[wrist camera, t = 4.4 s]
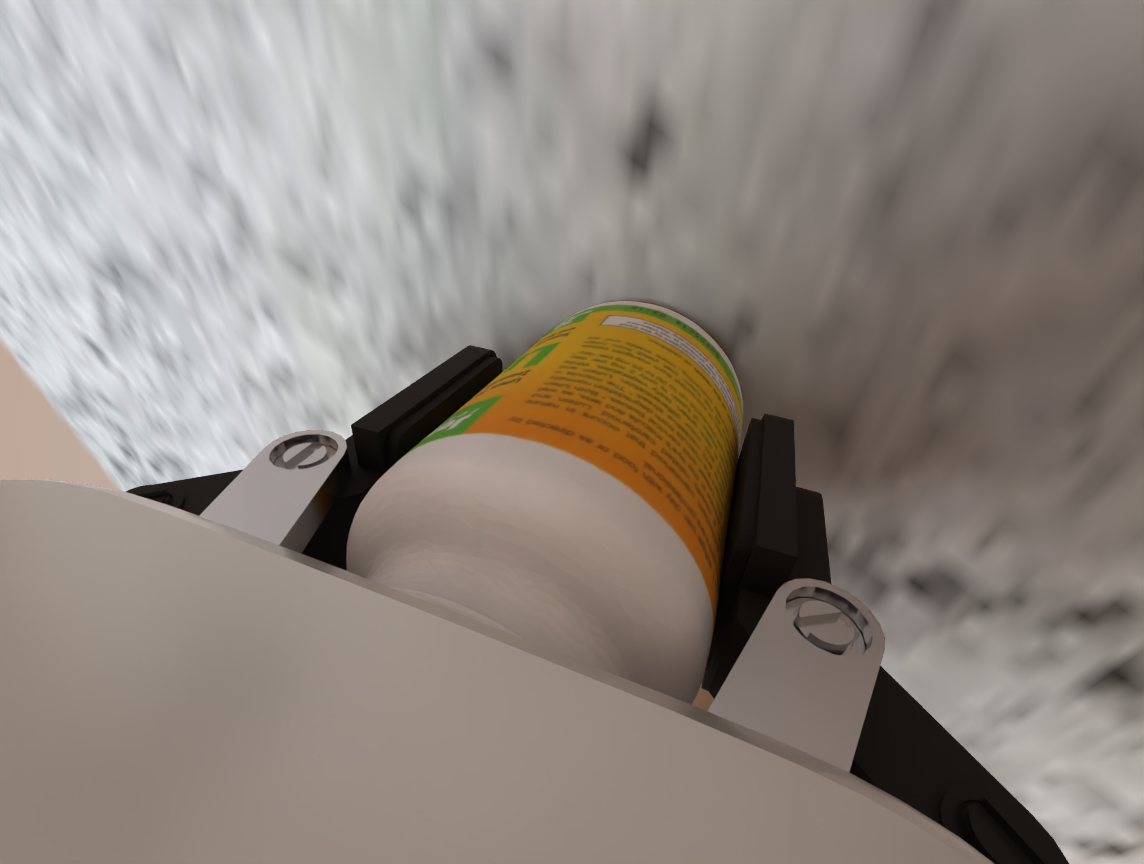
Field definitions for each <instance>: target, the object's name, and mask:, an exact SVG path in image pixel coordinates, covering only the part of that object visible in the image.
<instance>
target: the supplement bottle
mask: <svg viewBox="0 0 1144 864" xmlns="http://www.w3.org/2000/svg"><path fill="white" fill-rule="evenodd" d="M742 425H743V399H742V393H741V388H740V384H739V381H738V378H737V376H736V373H735V371H734V368H733V366H732V364H731V363H730V361H729V359H728V357H727V356H726V354H725V353H724V352H723V350H722V349H721V348H720V347H719V345H718V344H717V343H716V342H715V341H714V340H713V339H712V338H711V337H710V336H709V335H708V334H707V333H706V332H705V331H704V330H703V329H701V328H700V327H699V326H698V325H696V324H695V323H694V322H692V321H691V320H689V319H687V318H685V317H684V316H682V315H680V314H678V313H676V312H674V311H672V310H669V309H667V308H664V307H661V306H657V305H653V304H649V303H643V302H636V301H614V302H606V303H601V304H597V305H593V306H590V307H587V308H585V309H583V310H580V311H578V312H576V313H574V314H573V315H571V316H569V317H568V318H566V319H565V320H563V321H562V322H561V323H559V324H558V325H556V326H555V327H554V328H553V329H551V330H550V331H549V332H548V333H547V334H546V335H545V336H543V337H542V338H541V339H540V340H539V341H538V342H536V343H535V344H534V345H533V346H532V347H531V348H530V349H528V350H527V351H526V352H525V353H524V354H523V355H521V356H520V357H519V358H518V359H517V360H516V361H515V362H513V363H512V364H511V365H510V366H509V367H508V368H507V369H506V370H504V371H503V372H502V373H501V374H500V375H499V376H497V377H496V378H495V379H494V380H493V381H492V382H491V383H489V384H488V385H487V386H486V387H485V388H483V389H482V390H481V391H480V392H479V393H478V394H476V395H475V396H474V397H473V398H472V399H471V400H469V401H468V402H467V403H466V404H465V405H464V406H462V407H461V408H460V409H459V410H458V411H457V412H455V413H454V414H453V415H452V416H451V417H450V418H448V419H447V420H446V421H445V422H444V423H442V424H441V425H440V426H439V427H438V428H437V429H435V430H434V431H433V432H432V433H430V434H429V435H428V436H427V437H426V438H424V439H423V440H422V441H421V442H420V443H419V444H417V445H416V446H415V447H413V448H412V449H411V450H410V451H409V452H408V453H406V454H405V455H404V456H403V457H402V458H401V459H400V460H398V461H397V462H396V463H395V464H394V465H393V466H392V467H391V468H390V469H389V470H388V471H387V472H386V473H385V474H384V475H383V476H382V477H381V478H380V479H379V480H378V481H377V482H376V483H375V484H374V485H373V487H372V488H371V489H370V491H369V492H368V493H367V495H366V496H365V498H364V499H363V501H362V502H361V504H360V506H359V508H358V510H357V512H356V514H355V516H354V519H353V522H352V525H351V528H350V531H349V536H348V542H347V554H346V565H347V571H348V572H351V573H354V574H356V575H359V576H361V577H364V578H367V579H369V580H372V581H375V582H377V583H380V584H382V585H385V586H388V587H390V588H393V589H395V590H398V591H401V592H403V593H406V594H408V595H411V596H414V597H416V598H419V599H421V600H424V601H427V602H429V603H432V604H434V605H437V606H440V607H442V608H445V609H447V610H450V611H453V612H455V613H458V614H460V615H463V616H466V617H468V618H471V619H473V620H476V621H479V622H481V623H484V624H486V625H489V626H492V627H494V628H497V629H499V630H502V631H505V632H507V633H510V634H512V635H515V636H517V637H520V638H522V639H525V640H528V641H530V642H533V643H535V644H538V645H540V646H543V647H546V648H548V649H551V650H553V651H556V652H558V653H561V654H563V655H566V656H569V657H571V658H574V659H576V660H579V661H581V662H584V663H586V664H589V665H592V666H594V667H597V668H599V669H602V670H604V671H607V672H610V673H612V674H615V675H617V676H620V677H622V678H625V679H627V680H630V681H633V682H635V683H638V684H640V685H643V686H645V687H648V688H650V689H653V690H656V691H658V692H661V693H663V694H666V695H668V696H671V697H673V698H676V699H678V700H681V701H683V702H685V703H688V704H690V705H691V704H692V703H693V701H694V699H695V697H696V695H697V693H698V691H699V688H700V686H701V683H702V680H703V677H704V674H705V669H706V665H707V660H708V656H709V651H710V647H711V642H712V637H713V631H714V625H715V618H716V611H717V604H718V597H719V588H720V580H721V572H722V565H723V559H724V552H725V545H726V537H727V529H728V522H729V516H730V509H731V503H732V496H733V489H734V482H735V474H736V467H737V461H738V455H739V449H740V443H741V436H742Z"/></svg>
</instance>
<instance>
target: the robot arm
mask: <svg viewBox="0 0 1144 864" xmlns="http://www.w3.org/2000/svg"><path fill="white" fill-rule="evenodd" d="M501 373H502V361H501V359H500V358H497V357H496V354H495V352H494V351H492V350H488V349H484V348H480V347H475V346H471V345H470V346H467V347H466V348H465V349H463V350H462V351H460V352H459V353H457V354H456V355H454V356H453V357H451V358H450V359H448V360H447V361H445V362H444V363H442V364H441V365H439V366H438V367H436V368H435V369H433V370H432V371H430V372H429V373H427V374H426V375H424V376H423V377H422V378H420V379H419V380H417V381H416V382H414V383H413V384H411V385H410V386H408V387H407V388H405V389H404V390H402V391H401V392H399V393H398V394H396V395H395V396H393V397H392V398H390V399H389V400H387V401H386V402H384V403H383V404H381V405H380V406H379V407H377V408H376V409H374V410H373V411H371V412H370V413H368V414H367V415H365V416H364V417H362V418H361V419H359V420H358V421H356V422H355V423H353V424H352V425H351V428H352V433H353V435H352V436H351V437H349V438H348V439H346V440H344V438H343V437H342V436H340V435H338V434H336V433H334V432H330V431H324V430H307V431H301V432H295V433H292V434H289V435H285V436H283V437H281V438H279V439H277V440H275V441H273V442H272V443H270V444H269V445H268V446H266V447H265V448H264V449H263V450H262V451H261V452H260V453H259V454H258V455H257V456H256V457H255V458H254V459H253V460H252V461H251V463H250V464H249V465H248V466H247V467H246V468H245V469H244V470H239V471H233V472H227V473H221V474H215V475H209V476H203V477H197V478H191V479H185V480H179V481H173V482H167V483H161V484H155V485H145V486H140V487H136V488H133V489H131V490H128V491H126V492H123V491H119V490H114V489H109V488H105V487H100V486H96V485H91V484H84V483H76V482H68V481H60V480H45V479H44V480H42V479H41V480H40V479H9V480H0V864H1069V863H1068V861H1067V860H1066V858H1065V856H1064V855H1063V853H1062V852H1061V850H1060V849H1059V847H1058V845H1057V844H1056V842H1055V841H1054V839H1053V838H1052V837H1051V836H1050V835H1049V833H1048V832H1047V831H1046V830H1045V829H1044V828H1043V827H1042V825H1041V824H1040V823H1039V822H1038V821H1037V820H1036V819H1035V817H1034V816H1033V815H1032V814H1031V813H1030V812H1029V811H1028V810H1027V809H1026V808H1025V807H1024V806H1023V805H1022V804H1021V803H1020V802H1019V801H1018V800H1017V799H1015V798H1014V797H1013V796H1012V795H1011V794H1010V793H1009V792H1008V791H1007V790H1006V789H1005V788H1004V787H1003V786H1002V785H1001V784H1000V783H999V782H998V781H997V780H996V779H995V778H994V777H993V776H992V775H991V774H990V773H989V772H988V771H987V770H986V769H985V768H984V767H983V766H982V765H981V764H980V763H979V762H978V761H977V760H976V759H975V758H974V757H973V756H972V755H971V754H970V753H969V752H968V751H967V750H966V749H965V748H964V747H963V746H962V745H961V744H960V743H959V742H958V741H956V740H955V739H954V738H953V737H952V736H951V735H950V734H949V733H948V732H947V731H946V730H945V729H944V728H943V727H942V726H941V725H940V724H939V723H938V722H937V721H936V720H935V719H934V718H933V717H932V716H931V715H930V714H929V713H928V712H927V711H926V710H925V709H924V708H923V707H922V706H921V705H920V704H919V703H918V702H917V701H916V700H915V699H914V698H913V697H912V696H911V695H910V694H909V693H908V692H907V691H906V690H905V689H904V688H903V687H902V686H901V685H900V684H899V683H897V682H896V681H895V680H894V679H893V678H892V677H891V676H890V675H889V674H888V673H887V672H886V671H885V670H884V669H883V668H882V667H881V666H880V664H881V661H882V657H883V654H884V650H885V637H884V634H883V631H882V629H881V626H880V624H879V622H878V621H877V619H876V618H875V617H874V615H873V614H872V612H871V611H870V610H869V609H868V608H867V607H866V606H865V605H864V604H863V603H861V602H860V601H859V600H858V599H857V598H856V597H854V596H853V595H851V594H849V593H848V592H846V591H845V590H843V589H842V588H839V587H837V586H835V585H832V584H831V577H830V567H829V557H828V547H827V538H826V528H825V518H824V508H823V499H822V495H821V494H820V493H818V492H814V491H810V490H807V489H803V488H799V487H796V477H795V445H794V421H793V420H790V419H786V418H781V417H777V416H773V415H768V414H764V416H763V418H762V420H758V419H754V418H752V419H751V422H750V424H749V427H748V431H747V434H746V437H745V440H744V443H743V446H742V449H741V453H740V456H739V459H738V462H737V467H736V474H735V482H734V489H733V496H732V503H731V509H730V516H729V522H728V529H727V537H726V545H725V552H724V559H723V565H722V572H721V580H720V588H719V597H718V604H717V611H716V618H715V625H714V631H713V637H712V642H711V647H710V651H709V656H708V660H707V665H706V669H705V674H704V677H703V680H702V687H701V688H702V689H704V690H707V691H709V693H710V694H711V695H712V697H713V698H714V701H713V703H712V704H711V706H710V708H709V710H708V711H705V710H703V709H700V708H698V707H695V706H693V705H690V704H688V703H685V702H683V701H681V700H678V699H676V698H673V697H671V696H668V695H666V694H663V693H661V692H658V691H656V690H653V689H650V688H648V687H645V686H643V685H640V684H638V683H635V682H633V681H630V680H627V679H625V678H622V677H620V676H617V675H615V674H612V673H610V672H607V671H604V670H602V669H599V668H597V667H594V666H592V665H589V664H586V663H584V662H581V661H579V660H576V659H574V658H571V657H569V656H566V655H563V654H561V653H558V652H556V651H553V650H551V649H548V648H546V647H543V646H540V645H538V644H535V643H533V642H530V641H528V640H525V639H522V638H520V637H517V636H515V635H512V634H510V633H507V632H505V631H502V630H499V629H497V628H494V627H492V626H489V625H486V624H484V623H481V622H479V621H476V620H473V619H471V618H468V617H466V616H463V615H460V614H458V613H455V612H453V611H450V610H447V609H445V608H442V607H440V606H437V605H434V604H432V603H429V602H427V601H424V600H421V599H419V598H416V597H414V596H411V595H408V594H406V593H403V592H401V591H398V590H395V589H393V588H390V587H388V586H385V585H382V584H380V583H377V582H375V581H372V580H369V579H367V578H364V577H361V576H359V575H356V574H354V573H351V572H348V571H347V565H346V554H347V542H348V536H349V531H350V528H351V525H352V522H353V519H354V516H355V514H356V512H357V510H358V508H359V506H360V504H361V502H362V501H363V499H364V498H365V496H366V495H367V493H368V492H369V491H370V489H371V488H372V487H373V485H374V484H375V483H376V482H377V481H378V480H379V479H380V478H381V477H382V476H383V475H384V474H385V473H386V472H387V471H388V470H389V469H390V468H391V467H392V466H393V465H394V464H395V463H396V462H397V461H398V460H400V459H401V458H402V457H403V456H404V455H405V454H406V453H408V452H409V451H410V450H411V449H412V448H413V447H415V446H416V445H417V444H419V443H420V442H421V441H422V440H423V439H424V438H426V437H427V436H428V435H429V434H430V433H432V432H433V431H434V430H435V429H437V428H438V427H439V426H440V425H441V424H442V423H444V422H445V421H446V420H447V419H448V418H450V417H451V416H452V415H453V414H454V413H455V412H457V411H458V410H459V409H460V408H461V407H462V406H464V405H465V404H466V403H467V402H468V401H469V400H471V399H472V398H473V397H474V396H475V395H476V394H478V393H479V392H480V391H481V390H482V389H483V388H485V387H486V386H487V385H488V384H489V383H491V382H492V381H493V380H494V379H495V378H496V377H497V376H499V375H500V374H501Z"/></svg>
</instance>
